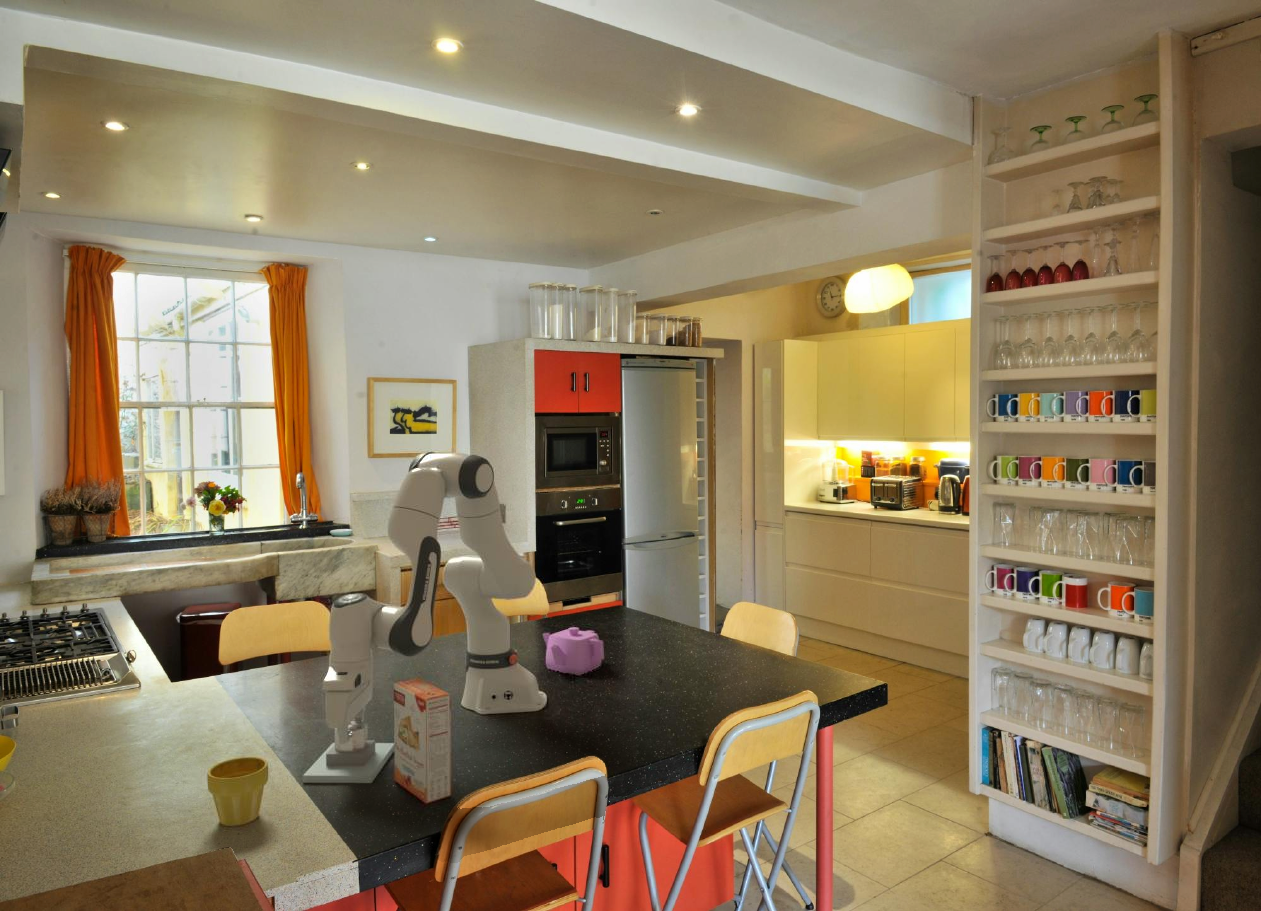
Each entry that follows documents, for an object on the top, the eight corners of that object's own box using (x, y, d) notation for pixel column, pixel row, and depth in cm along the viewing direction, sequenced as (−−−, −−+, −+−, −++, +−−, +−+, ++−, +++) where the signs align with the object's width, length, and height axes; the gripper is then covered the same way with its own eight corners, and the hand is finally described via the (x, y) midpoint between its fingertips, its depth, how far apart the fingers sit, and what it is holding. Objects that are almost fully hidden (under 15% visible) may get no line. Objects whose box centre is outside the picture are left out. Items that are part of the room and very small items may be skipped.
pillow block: (394, 749, 193) (394, 712, 193) (371, 782, 175) (371, 742, 175) (332, 749, 193) (332, 712, 193) (303, 782, 175) (302, 741, 175)
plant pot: (194, 825, 156) (194, 772, 156) (238, 802, 166) (238, 752, 165) (238, 835, 152) (237, 781, 152) (281, 811, 162) (280, 760, 162)
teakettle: (606, 674, 253) (606, 633, 253) (549, 677, 249) (549, 636, 249) (595, 659, 270) (595, 620, 270) (541, 662, 266) (542, 622, 266)
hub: (369, 741, 187) (369, 721, 187) (361, 752, 181) (361, 731, 181) (341, 741, 187) (341, 721, 187) (331, 752, 181) (331, 731, 181)
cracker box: (392, 782, 176) (392, 681, 175) (419, 774, 180) (419, 676, 179) (424, 805, 165) (424, 698, 164) (452, 797, 169) (452, 692, 168)
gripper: (351, 657, 194) (352, 717, 194) (319, 685, 173) (320, 752, 174) (379, 657, 194) (379, 717, 194) (350, 685, 173) (351, 752, 174)
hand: (351, 734), depth 184 cm, fingers open, 8 cm apart
